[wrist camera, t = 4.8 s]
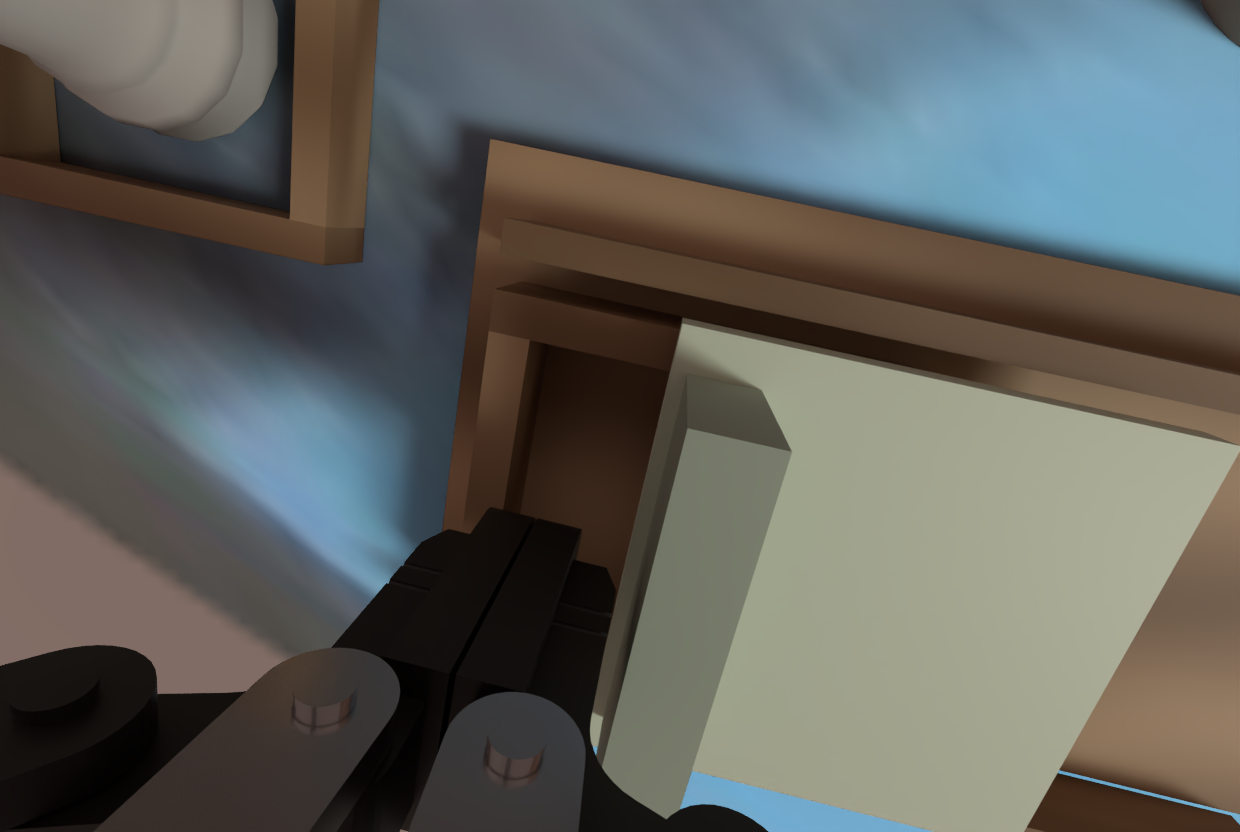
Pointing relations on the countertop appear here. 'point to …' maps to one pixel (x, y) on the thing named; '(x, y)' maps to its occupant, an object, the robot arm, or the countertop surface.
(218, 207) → the wooden square frame
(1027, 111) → the countertop surface
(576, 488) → the shallow wooden box
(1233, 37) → the tan rounded block
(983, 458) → the cover
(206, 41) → the rook chess piece
